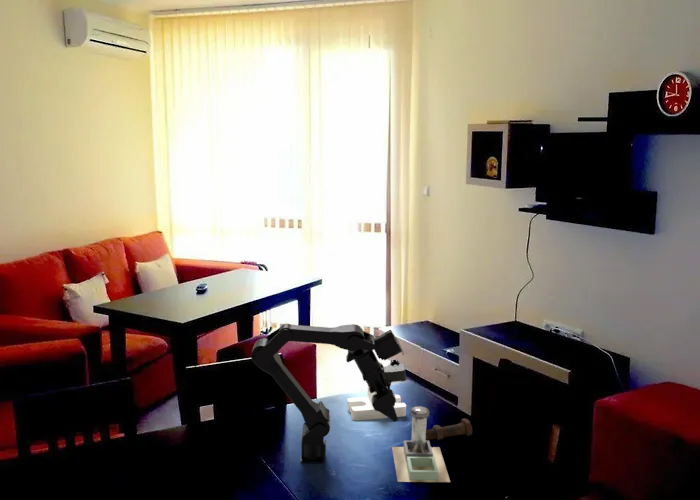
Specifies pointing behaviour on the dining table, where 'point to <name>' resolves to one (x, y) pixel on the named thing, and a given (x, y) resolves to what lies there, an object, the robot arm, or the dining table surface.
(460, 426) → the bolt
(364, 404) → the u-slot stand
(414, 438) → the silver tall tapered cylinder
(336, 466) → the dining table surface
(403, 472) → the dock board
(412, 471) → the socket
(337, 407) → the dining table surface
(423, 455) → the holder
